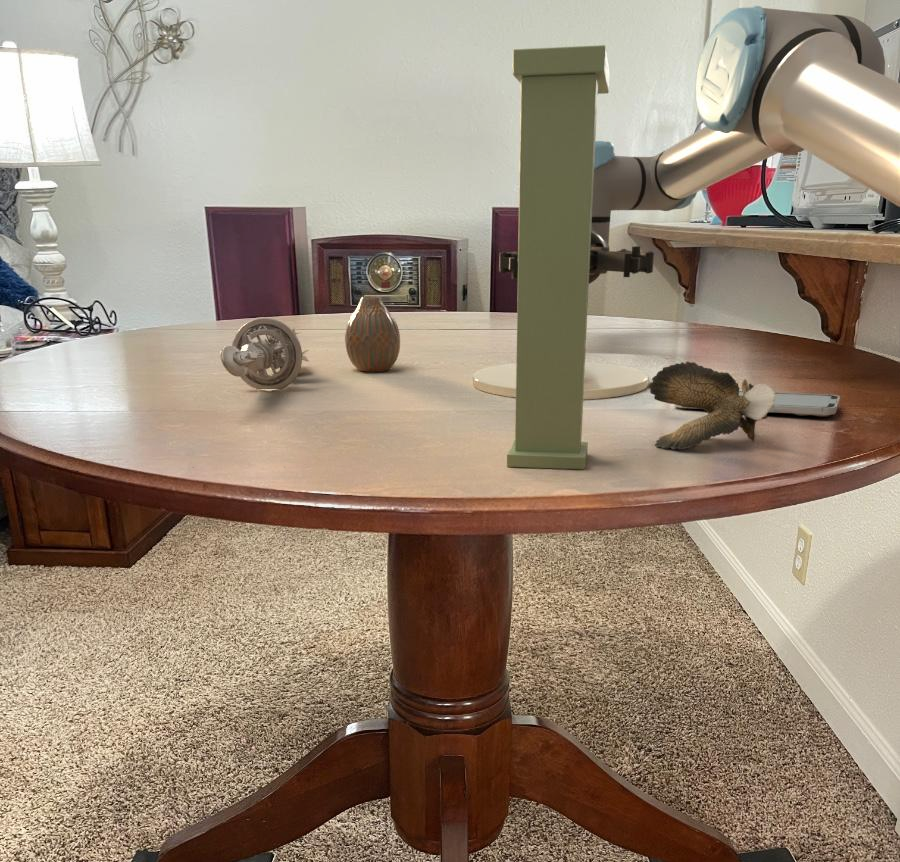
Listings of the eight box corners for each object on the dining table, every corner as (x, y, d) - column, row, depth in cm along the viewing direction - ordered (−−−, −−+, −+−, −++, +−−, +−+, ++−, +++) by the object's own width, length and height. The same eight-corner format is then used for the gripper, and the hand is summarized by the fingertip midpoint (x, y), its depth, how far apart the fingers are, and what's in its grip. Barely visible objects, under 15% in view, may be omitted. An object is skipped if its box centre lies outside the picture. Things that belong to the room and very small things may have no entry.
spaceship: (167, 338, 81) (244, 303, 80) (254, 332, 115) (309, 307, 114) (207, 419, 84) (282, 386, 82) (281, 390, 117) (336, 366, 116)
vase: (380, 375, 109) (376, 300, 105) (335, 371, 112) (331, 298, 109) (411, 367, 114) (409, 295, 111) (368, 363, 117) (364, 294, 114)
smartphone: (687, 388, 94) (840, 394, 88) (686, 397, 94) (839, 404, 88) (672, 400, 88) (835, 408, 82) (671, 410, 88) (834, 418, 82)
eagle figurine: (722, 413, 80) (634, 401, 78) (766, 352, 75) (672, 336, 72) (748, 476, 76) (656, 465, 74) (796, 416, 71) (699, 402, 68)
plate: (660, 373, 108) (660, 365, 107) (630, 404, 90) (631, 394, 90) (502, 366, 114) (503, 358, 114) (447, 394, 97) (447, 385, 97)
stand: (524, 431, 80) (531, 74, 69) (591, 433, 79) (609, 71, 68) (506, 466, 69) (512, 47, 58) (584, 469, 68) (605, 43, 57)
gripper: (665, 284, 129) (671, 297, 110) (495, 284, 133) (472, 297, 114) (670, 228, 126) (677, 232, 107) (495, 230, 130) (472, 234, 111)
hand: (571, 265), depth 110 cm, fingers open, 13 cm apart
